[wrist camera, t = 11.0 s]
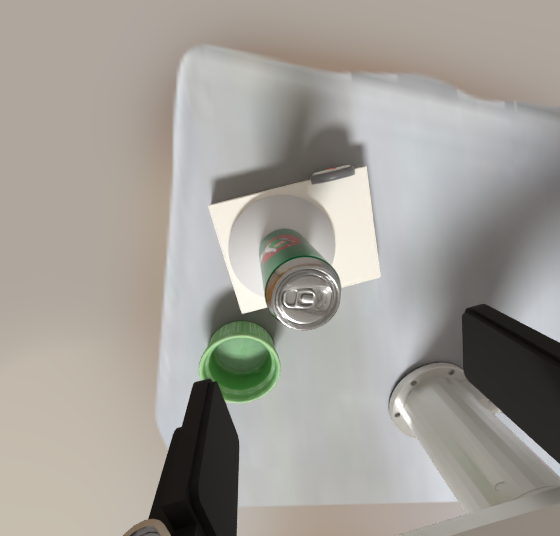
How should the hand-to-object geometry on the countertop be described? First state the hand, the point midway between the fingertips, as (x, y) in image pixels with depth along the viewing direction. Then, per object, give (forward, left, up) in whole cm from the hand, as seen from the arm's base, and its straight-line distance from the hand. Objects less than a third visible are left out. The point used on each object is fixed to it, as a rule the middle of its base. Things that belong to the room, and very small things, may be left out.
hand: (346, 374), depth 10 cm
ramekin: (+8, +12, -23) cm, 27 cm away
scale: (-2, 0, -22) cm, 22 cm away
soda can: (0, 0, -19) cm, 19 cm away
